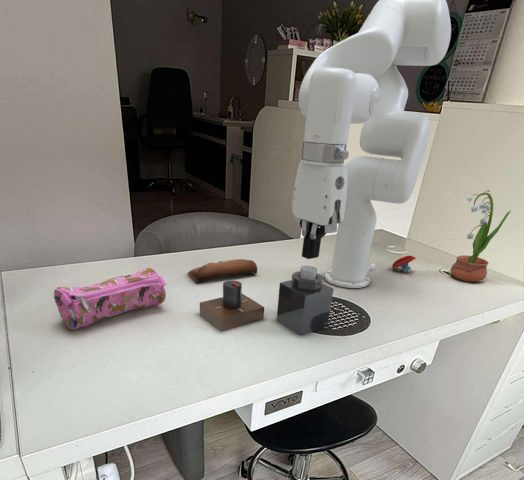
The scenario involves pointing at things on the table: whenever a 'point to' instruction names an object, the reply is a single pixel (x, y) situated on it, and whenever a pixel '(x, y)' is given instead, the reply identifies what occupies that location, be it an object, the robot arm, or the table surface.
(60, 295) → the pencil case
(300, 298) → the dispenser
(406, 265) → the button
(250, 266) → the sunglasses case
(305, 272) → the grey cylinder plug
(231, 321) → the control box
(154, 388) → the table surface
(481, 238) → the potted flower
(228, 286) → the dial
